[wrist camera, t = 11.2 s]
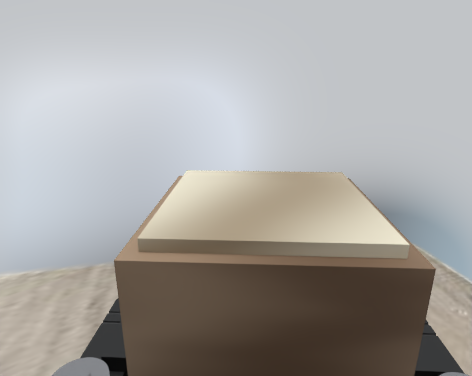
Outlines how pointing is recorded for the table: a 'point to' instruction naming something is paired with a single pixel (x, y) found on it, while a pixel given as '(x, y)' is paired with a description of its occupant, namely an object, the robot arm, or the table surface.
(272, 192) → the walnut block
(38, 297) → the table surface
